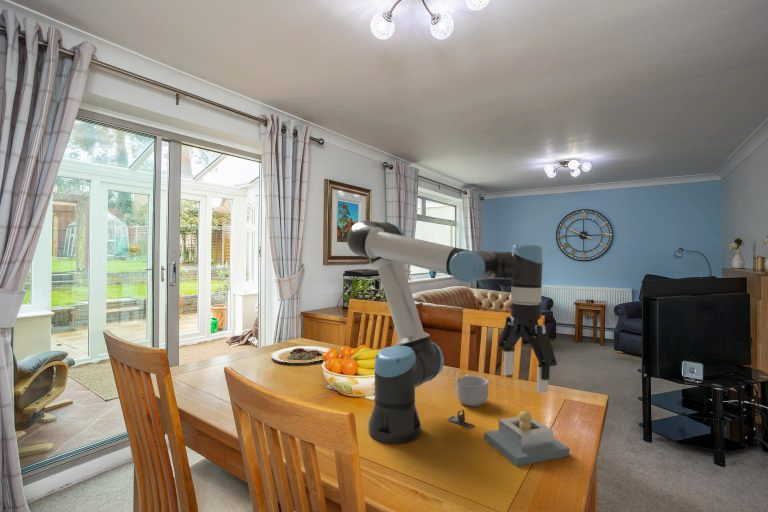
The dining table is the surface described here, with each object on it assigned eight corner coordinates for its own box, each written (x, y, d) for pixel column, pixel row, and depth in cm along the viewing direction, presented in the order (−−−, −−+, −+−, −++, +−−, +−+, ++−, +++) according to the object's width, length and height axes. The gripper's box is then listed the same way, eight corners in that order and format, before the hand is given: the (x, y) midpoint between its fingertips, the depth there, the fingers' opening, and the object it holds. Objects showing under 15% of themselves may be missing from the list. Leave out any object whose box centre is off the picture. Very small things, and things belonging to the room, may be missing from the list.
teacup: (489, 410, 125) (489, 386, 125) (455, 408, 127) (455, 384, 127) (486, 395, 138) (486, 373, 138) (456, 393, 141) (456, 371, 141)
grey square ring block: (521, 451, 95) (521, 435, 95) (498, 434, 104) (498, 419, 104) (552, 445, 98) (552, 430, 98) (527, 429, 107) (528, 415, 107)
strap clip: (446, 421, 118) (446, 407, 118) (452, 418, 120) (452, 404, 120) (469, 430, 112) (469, 416, 111) (475, 427, 114) (475, 413, 114)
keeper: (516, 466, 92) (516, 426, 92) (484, 439, 106) (484, 404, 105) (569, 455, 97) (569, 418, 97) (532, 431, 110) (532, 398, 110)
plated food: (302, 370, 168) (302, 362, 168) (258, 359, 184) (258, 352, 184) (345, 355, 193) (345, 348, 193) (303, 347, 209) (303, 340, 209)
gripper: (574, 309, 90) (571, 398, 91) (508, 296, 114) (507, 367, 114) (548, 310, 88) (546, 402, 88) (487, 297, 112) (485, 369, 112)
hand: (524, 382), depth 101 cm, fingers open, 13 cm apart
